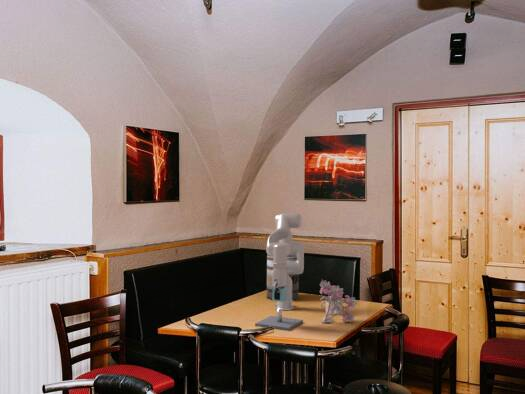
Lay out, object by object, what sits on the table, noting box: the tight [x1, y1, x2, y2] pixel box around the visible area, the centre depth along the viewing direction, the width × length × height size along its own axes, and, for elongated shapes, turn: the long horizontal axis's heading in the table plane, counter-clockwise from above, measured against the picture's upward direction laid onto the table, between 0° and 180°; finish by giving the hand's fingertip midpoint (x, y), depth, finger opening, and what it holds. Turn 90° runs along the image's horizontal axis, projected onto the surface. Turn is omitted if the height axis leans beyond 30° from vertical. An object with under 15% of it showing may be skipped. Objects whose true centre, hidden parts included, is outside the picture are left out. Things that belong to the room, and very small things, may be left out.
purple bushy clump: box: [320, 295, 338, 316], centre depth 313 cm, size 12×9×12 cm
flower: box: [319, 279, 357, 324], centre depth 290 cm, size 20×22×25 cm
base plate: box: [254, 315, 304, 332], centre depth 284 cm, size 20×20×2 cm
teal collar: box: [271, 287, 287, 302], centre depth 284 cm, size 6×6×7 cm
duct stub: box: [276, 309, 283, 322], centre depth 284 cm, size 3×3×7 cm
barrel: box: [266, 254, 300, 301], centre depth 358 cm, size 22×22×30 cm
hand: (279, 298), depth 284 cm, fingers closed on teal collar, 5 cm apart
